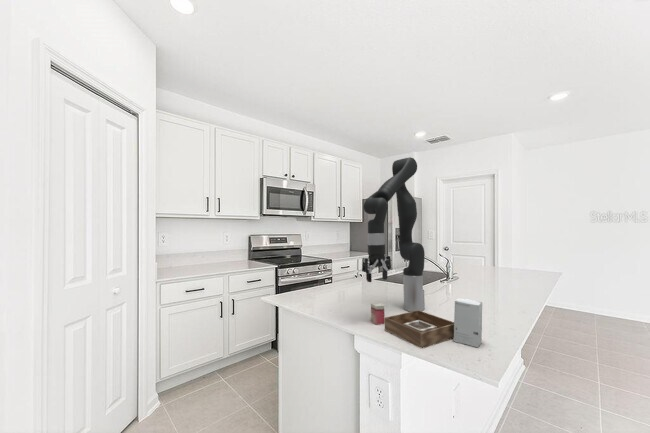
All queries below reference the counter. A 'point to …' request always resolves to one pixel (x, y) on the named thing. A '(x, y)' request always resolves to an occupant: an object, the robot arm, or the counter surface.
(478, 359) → the counter surface
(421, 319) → the crate
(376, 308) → the small box
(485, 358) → the counter surface
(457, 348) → the counter surface
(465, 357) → the counter surface
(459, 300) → the skincare box
